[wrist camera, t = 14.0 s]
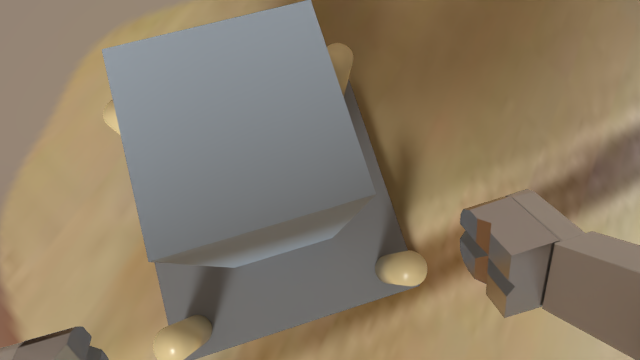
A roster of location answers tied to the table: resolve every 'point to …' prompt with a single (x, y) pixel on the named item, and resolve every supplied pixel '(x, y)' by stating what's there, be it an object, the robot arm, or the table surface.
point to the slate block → (237, 138)
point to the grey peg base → (289, 269)
